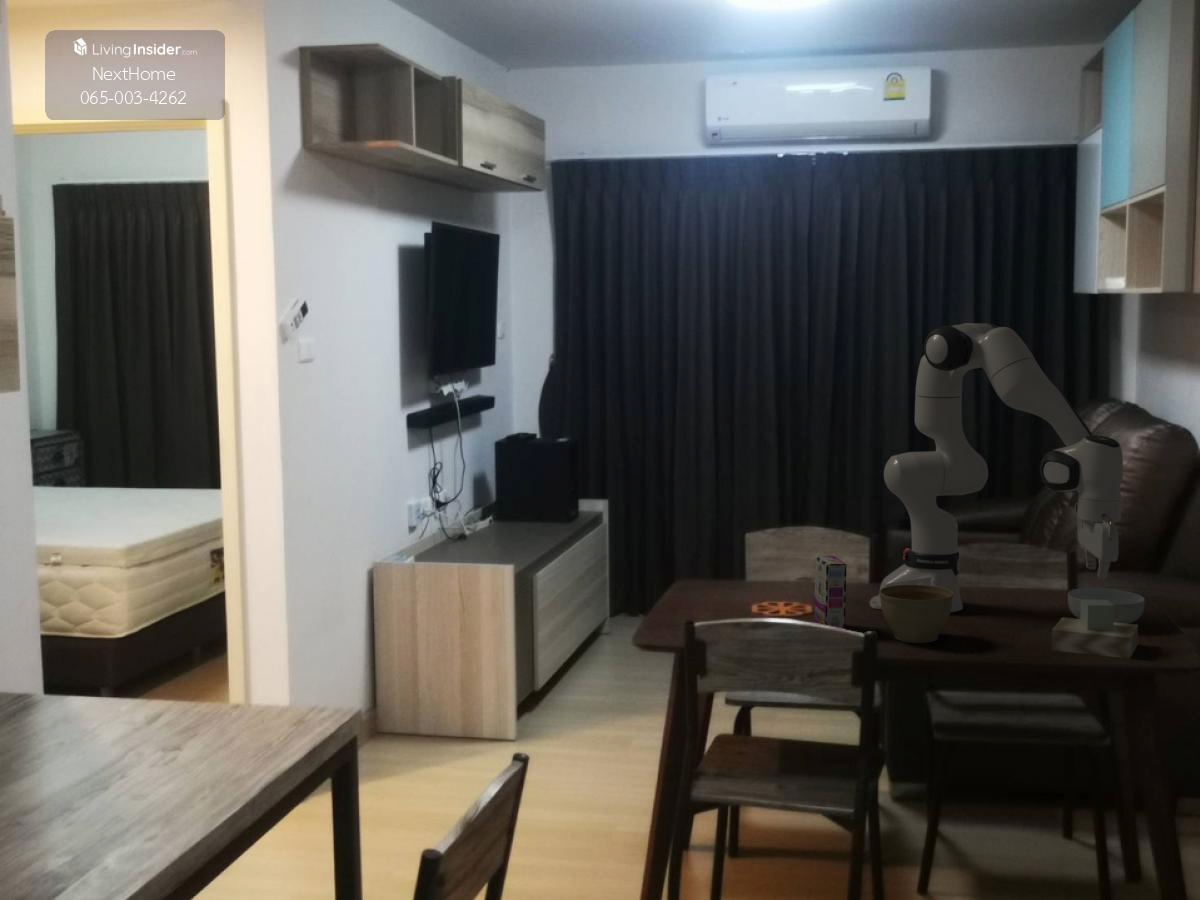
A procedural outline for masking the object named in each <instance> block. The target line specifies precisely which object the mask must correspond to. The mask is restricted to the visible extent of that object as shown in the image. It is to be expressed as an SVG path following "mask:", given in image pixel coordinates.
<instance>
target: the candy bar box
mask: <svg viewBox="0 0 1200 900" xmlns="http://www.w3.org/2000/svg"><path fill="white" fill-rule="evenodd" d="M814 563H815V564H814V565H815V567H814V607H813V609H814V612H813V613H814V614H813V615H814V617H813V618H814V620H813V623H814V622H817V623H821V624H826V625H831V626H836V627H841V628H845V629H846V605H847V603H846V599H847V598H846V596H847V594H846V593H847V565H848V564H846V563H845V562H844V561H842V560H840V559H839V558H838V557H837V556H834V555H816V556H815V562H814Z"/></svg>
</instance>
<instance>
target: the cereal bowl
mask: <svg viewBox="0 0 1200 900" xmlns="http://www.w3.org/2000/svg"><path fill="white" fill-rule="evenodd" d="M1081 600H1108V601H1109V602H1110V603H1112V604H1113V605H1114V622H1116V623H1126V624H1133V623H1134V622H1136V621H1137V620H1139V619H1140V617H1141V616H1142V615H1143V613H1144V609H1145V606H1146V605H1145V603H1146V600H1145V597H1144V596H1142V595H1140V594H1138V593H1134V592H1132V591H1127V590H1122V589H1115V588H1109V587H1108V588H1105V587H1081V588H1074V589H1071V590H1070V591H1068V593H1067V605H1068V606H1067V607H1068V608H1069V610H1070V612H1071V613H1072V615H1074V616H1075V617H1076V619H1080V613H1081Z"/></svg>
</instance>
